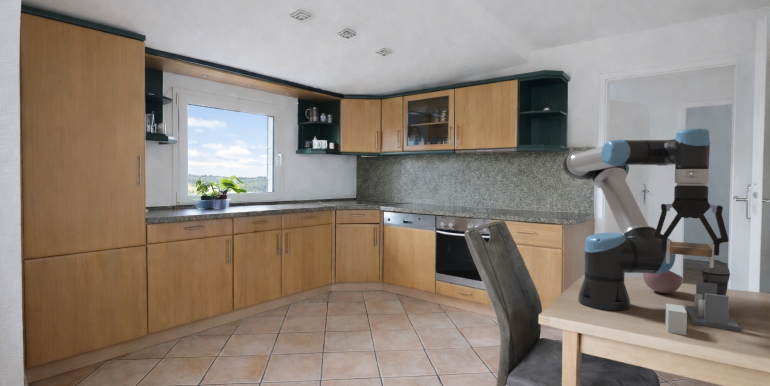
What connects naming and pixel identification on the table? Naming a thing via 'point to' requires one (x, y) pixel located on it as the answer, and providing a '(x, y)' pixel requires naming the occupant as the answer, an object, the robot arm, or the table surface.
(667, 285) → the mortar and pestle
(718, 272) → the beverage cup
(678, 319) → the grey rectangular block
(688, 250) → the board
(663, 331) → the table surface
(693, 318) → the cradle
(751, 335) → the table surface
